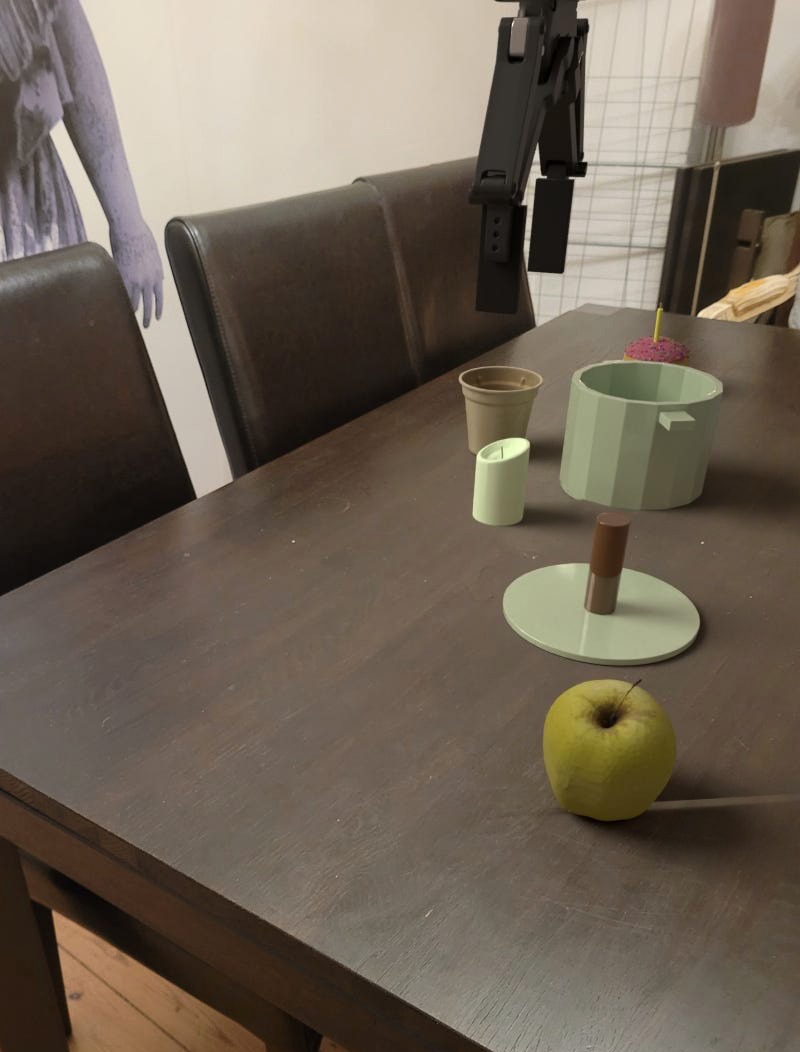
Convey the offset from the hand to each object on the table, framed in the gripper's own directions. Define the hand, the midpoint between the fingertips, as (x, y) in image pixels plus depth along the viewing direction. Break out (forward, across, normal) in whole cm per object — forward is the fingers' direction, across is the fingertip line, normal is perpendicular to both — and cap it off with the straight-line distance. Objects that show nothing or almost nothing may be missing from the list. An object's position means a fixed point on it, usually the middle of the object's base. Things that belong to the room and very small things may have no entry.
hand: (522, 291), depth 69 cm
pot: (+26, -30, +6) cm, 40 cm away
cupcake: (+26, -65, +3) cm, 70 cm away
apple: (+26, +22, +13) cm, 37 cm away
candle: (+26, -16, -4) cm, 31 cm away
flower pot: (+26, -35, -10) cm, 45 cm away
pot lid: (+25, -1, +9) cm, 27 cm away
